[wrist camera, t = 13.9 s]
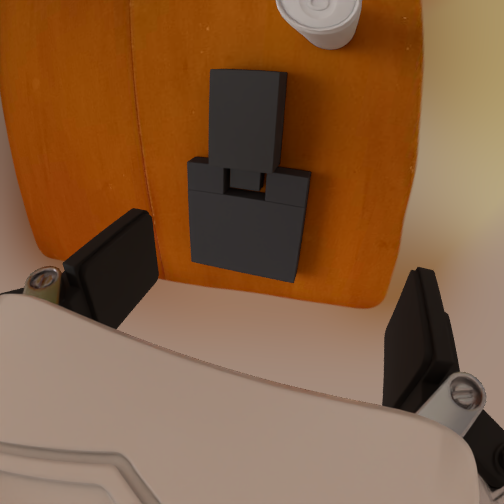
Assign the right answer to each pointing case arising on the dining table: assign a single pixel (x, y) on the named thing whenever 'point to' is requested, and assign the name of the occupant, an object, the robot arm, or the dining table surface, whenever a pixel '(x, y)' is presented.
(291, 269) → the base pad
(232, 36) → the dining table surface
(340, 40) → the beverage can
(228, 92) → the pad
